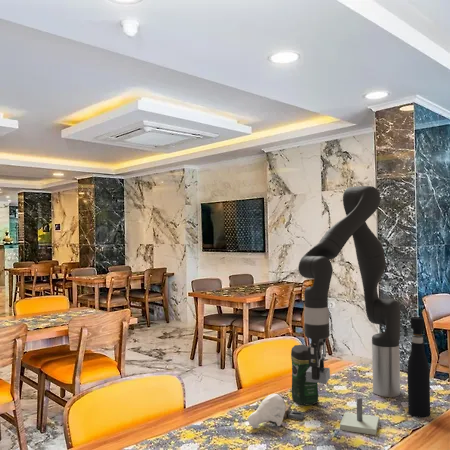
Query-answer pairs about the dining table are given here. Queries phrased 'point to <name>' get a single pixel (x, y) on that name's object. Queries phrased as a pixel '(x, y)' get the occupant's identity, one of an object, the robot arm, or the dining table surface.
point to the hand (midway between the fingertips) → (318, 375)
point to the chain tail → (293, 414)
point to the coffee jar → (302, 377)
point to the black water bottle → (418, 373)
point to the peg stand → (359, 421)
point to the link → (323, 374)
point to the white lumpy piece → (268, 411)
